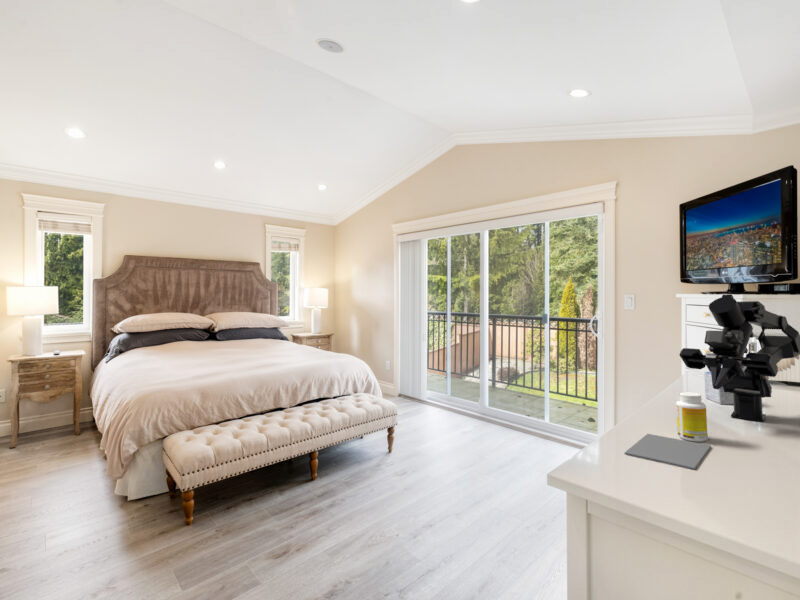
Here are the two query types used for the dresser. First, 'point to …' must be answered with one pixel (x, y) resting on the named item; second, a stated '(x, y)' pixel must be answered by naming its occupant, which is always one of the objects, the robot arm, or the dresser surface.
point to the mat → (669, 451)
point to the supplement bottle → (691, 417)
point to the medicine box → (716, 392)
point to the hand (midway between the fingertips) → (715, 388)
